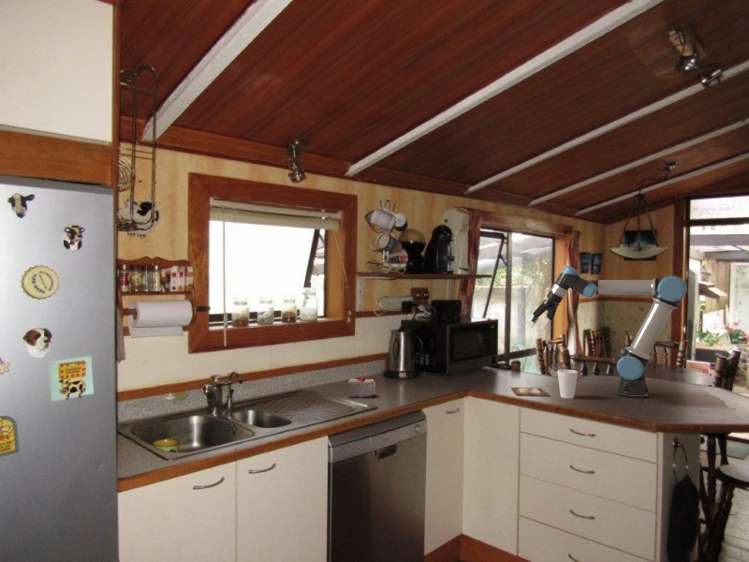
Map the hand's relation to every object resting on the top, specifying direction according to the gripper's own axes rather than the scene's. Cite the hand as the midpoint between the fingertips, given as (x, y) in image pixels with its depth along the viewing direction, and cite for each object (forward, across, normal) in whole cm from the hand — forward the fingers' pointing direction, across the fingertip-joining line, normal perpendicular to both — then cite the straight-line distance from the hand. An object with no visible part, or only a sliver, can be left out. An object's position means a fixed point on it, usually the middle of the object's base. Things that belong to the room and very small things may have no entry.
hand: (535, 327), depth 287 cm
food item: (+64, +70, -29) cm, 99 cm away
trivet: (+29, +5, +18) cm, 34 cm away
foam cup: (+20, +1, +33) cm, 39 cm away
